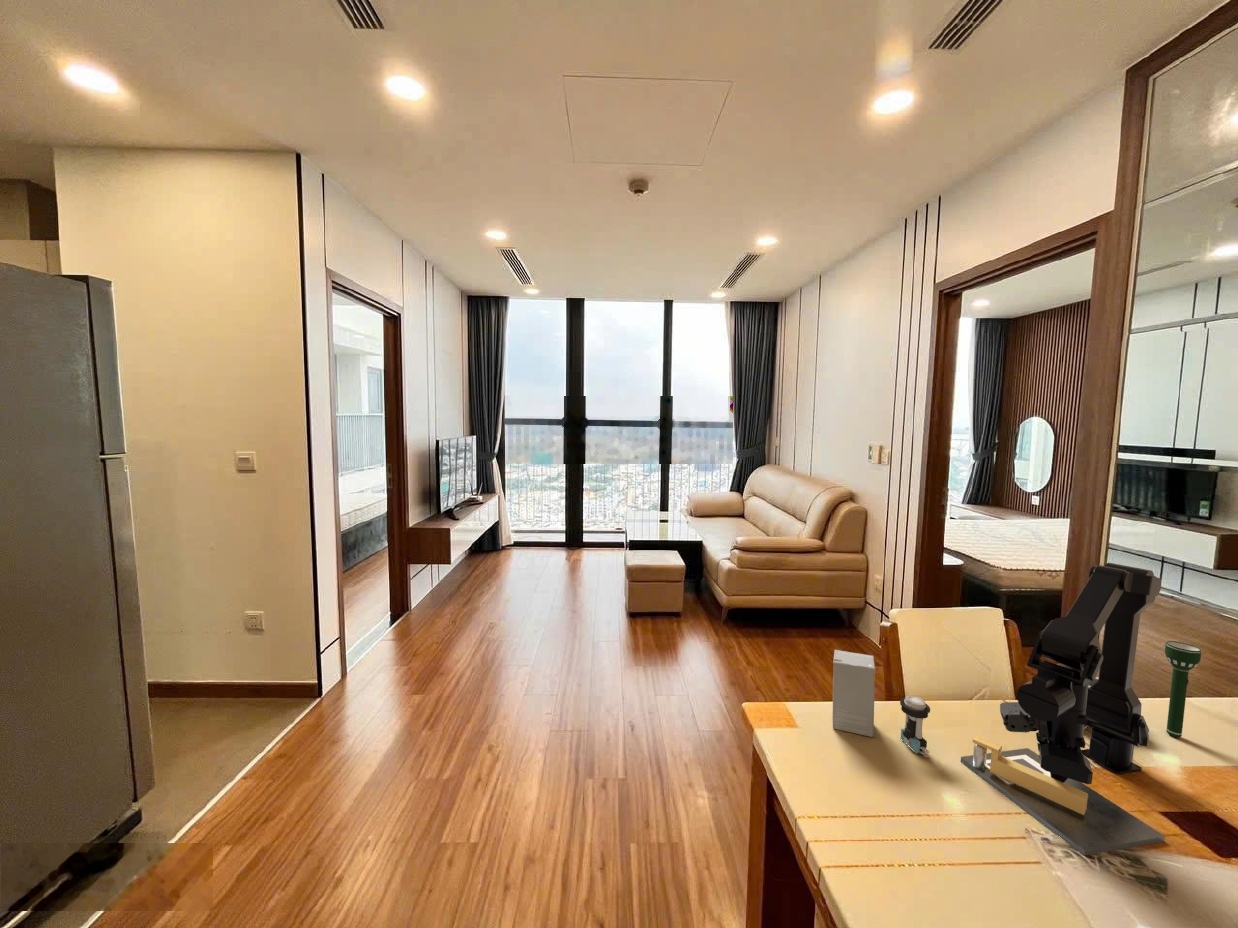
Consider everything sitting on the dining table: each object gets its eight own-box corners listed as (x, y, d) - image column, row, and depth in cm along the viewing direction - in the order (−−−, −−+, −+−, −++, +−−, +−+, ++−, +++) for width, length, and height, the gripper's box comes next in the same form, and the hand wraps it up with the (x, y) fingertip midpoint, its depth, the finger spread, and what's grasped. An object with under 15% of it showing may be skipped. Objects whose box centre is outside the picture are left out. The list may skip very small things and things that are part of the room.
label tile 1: (1025, 755, 98) (1025, 754, 98) (1057, 777, 92) (1057, 775, 92) (1004, 758, 97) (1004, 756, 97) (1035, 780, 91) (1035, 778, 91)
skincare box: (872, 722, 110) (876, 654, 109) (873, 741, 104) (877, 668, 102) (831, 712, 114) (834, 646, 113) (829, 729, 107) (833, 659, 106)
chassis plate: (1027, 752, 101) (1027, 747, 101) (1164, 841, 79) (1164, 835, 79) (960, 761, 98) (961, 756, 98) (1084, 856, 76) (1084, 850, 76)
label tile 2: (1000, 759, 97) (1000, 757, 97) (1030, 780, 91) (1031, 778, 91) (978, 762, 96) (978, 760, 96) (1008, 784, 90) (1008, 782, 90)
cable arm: (971, 762, 95) (972, 739, 95) (974, 758, 96) (976, 734, 96) (1083, 815, 82) (1086, 787, 82) (1086, 808, 84) (1089, 782, 83)
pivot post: (978, 767, 96) (980, 741, 96) (987, 774, 94) (989, 747, 94) (969, 768, 96) (971, 742, 95) (978, 775, 94) (980, 748, 93)
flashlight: (1191, 745, 104) (1201, 653, 102) (1155, 733, 108) (1164, 644, 106) (1192, 736, 107) (1202, 646, 106) (1157, 724, 111) (1166, 638, 109)
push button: (939, 758, 99) (942, 710, 98) (915, 760, 98) (918, 712, 97) (914, 737, 105) (917, 692, 104) (891, 739, 104) (894, 694, 104)
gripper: (1004, 665, 98) (998, 738, 100) (1006, 711, 83) (999, 796, 85) (1080, 683, 92) (1072, 761, 93) (1097, 736, 77) (1087, 828, 78)
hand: (1055, 784), depth 88 cm, fingers closed
